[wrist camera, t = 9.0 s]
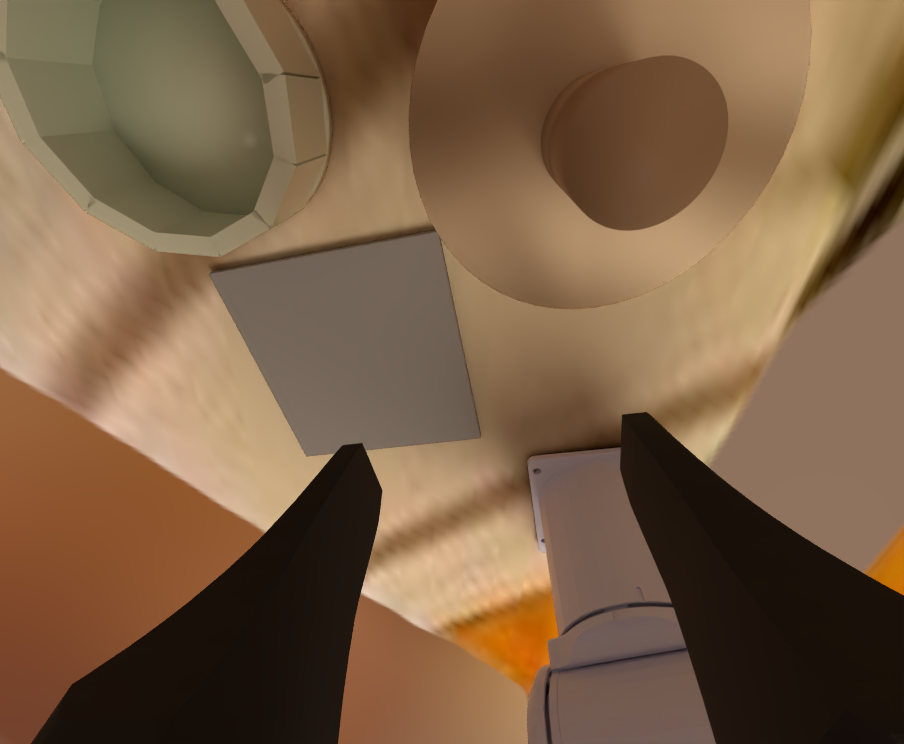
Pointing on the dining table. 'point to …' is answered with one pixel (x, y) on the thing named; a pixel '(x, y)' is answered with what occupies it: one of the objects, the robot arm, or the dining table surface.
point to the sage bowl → (170, 113)
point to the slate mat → (358, 343)
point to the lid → (600, 135)
